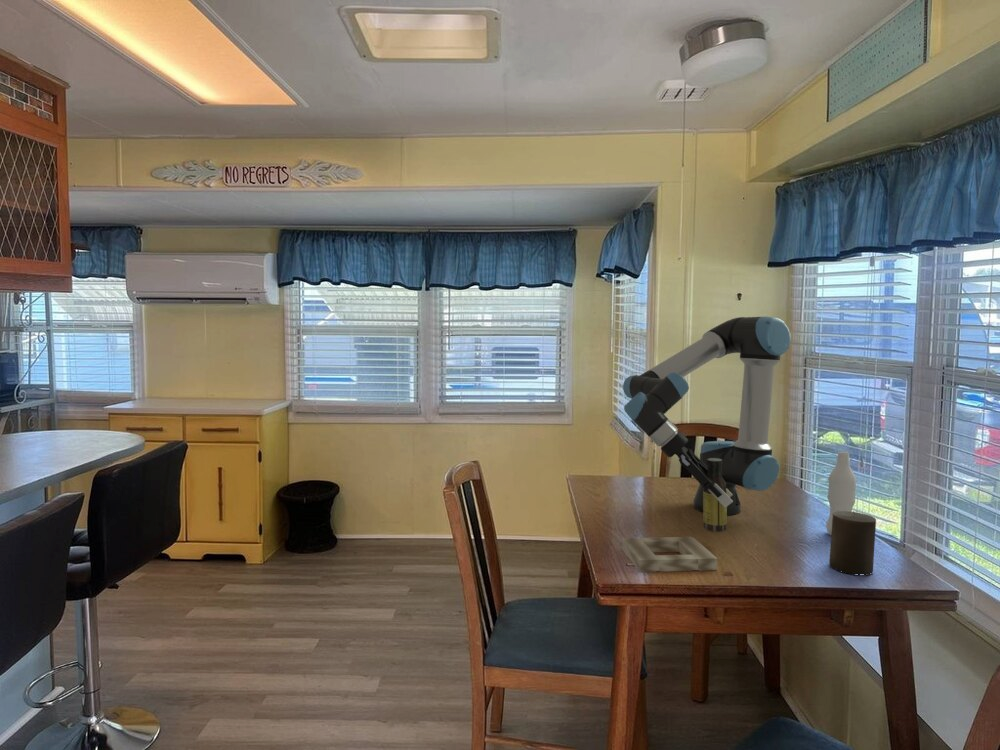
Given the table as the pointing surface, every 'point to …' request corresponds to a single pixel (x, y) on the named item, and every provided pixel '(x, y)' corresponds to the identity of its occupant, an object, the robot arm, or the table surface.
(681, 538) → the birch stand
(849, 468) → the water bottle
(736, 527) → the table surface
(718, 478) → the sauce bottle
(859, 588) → the table surface
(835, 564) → the pillar candle
